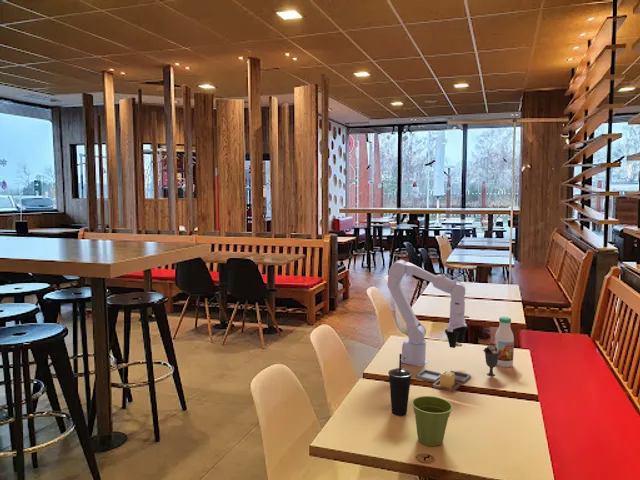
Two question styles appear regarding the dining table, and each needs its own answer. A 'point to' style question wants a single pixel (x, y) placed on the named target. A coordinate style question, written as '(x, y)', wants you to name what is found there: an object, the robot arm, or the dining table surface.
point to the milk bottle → (505, 342)
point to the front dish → (437, 385)
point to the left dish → (429, 375)
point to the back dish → (461, 377)
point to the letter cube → (447, 379)
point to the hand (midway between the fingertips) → (456, 345)
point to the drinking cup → (399, 389)
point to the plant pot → (431, 418)
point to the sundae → (491, 357)
